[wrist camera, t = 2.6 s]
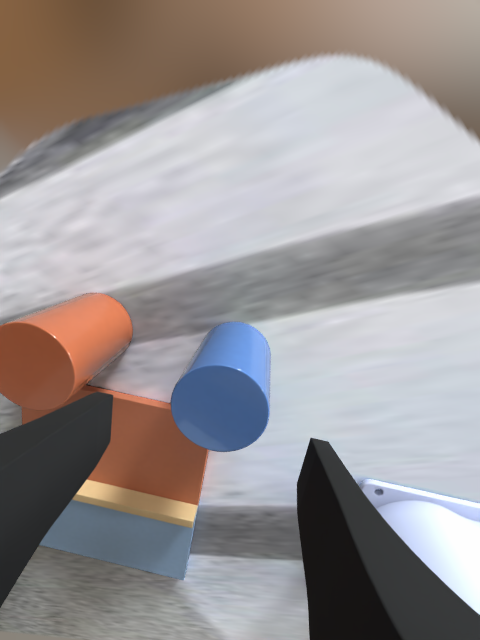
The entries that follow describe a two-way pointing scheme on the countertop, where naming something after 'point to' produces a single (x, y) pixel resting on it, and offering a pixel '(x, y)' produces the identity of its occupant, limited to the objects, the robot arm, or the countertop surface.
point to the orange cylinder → (61, 349)
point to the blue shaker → (225, 389)
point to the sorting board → (135, 491)
